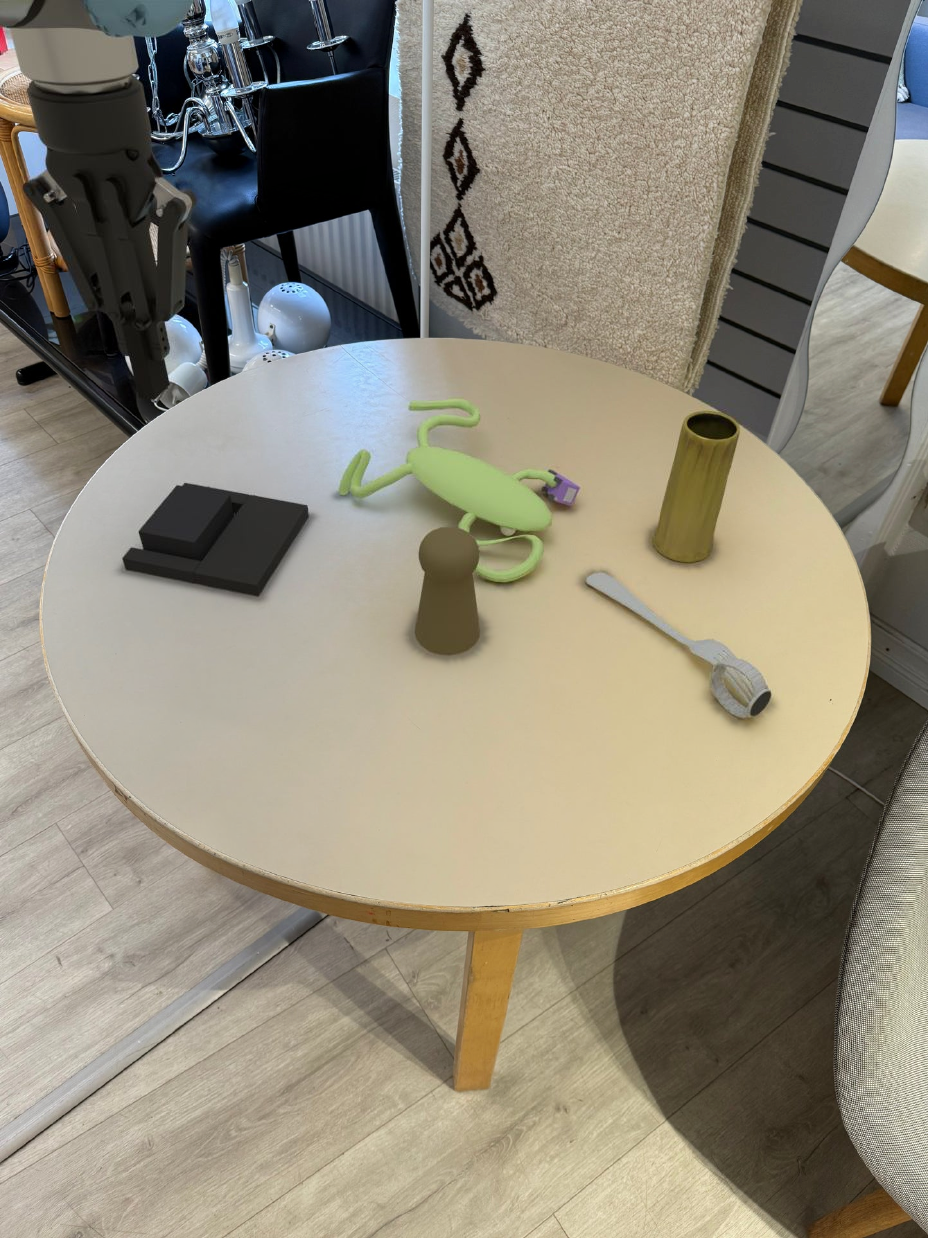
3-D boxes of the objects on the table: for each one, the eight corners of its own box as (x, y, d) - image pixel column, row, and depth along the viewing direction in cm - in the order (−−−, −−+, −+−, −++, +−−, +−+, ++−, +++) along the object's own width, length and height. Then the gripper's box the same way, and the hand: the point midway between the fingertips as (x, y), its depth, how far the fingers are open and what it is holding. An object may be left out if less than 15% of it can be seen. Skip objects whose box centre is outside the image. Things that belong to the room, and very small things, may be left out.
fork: (599, 589, 92) (600, 567, 90) (770, 698, 79) (776, 674, 77) (579, 601, 90) (580, 579, 89) (750, 713, 77) (755, 689, 76)
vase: (713, 532, 95) (747, 413, 85) (709, 568, 91) (743, 448, 81) (656, 521, 96) (682, 403, 86) (648, 556, 92) (675, 436, 82)
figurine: (435, 420, 109) (436, 378, 106) (616, 514, 97) (624, 471, 93) (320, 484, 99) (315, 440, 96) (504, 599, 87) (508, 554, 83)
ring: (742, 732, 76) (758, 693, 72) (699, 695, 79) (711, 655, 75) (765, 717, 77) (781, 677, 74) (721, 681, 80) (735, 641, 77)
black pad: (309, 516, 95) (307, 504, 94) (258, 596, 86) (256, 585, 85) (187, 493, 98) (184, 482, 97) (125, 569, 88) (121, 558, 87)
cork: (452, 599, 87) (454, 507, 79) (493, 635, 83) (500, 542, 76) (401, 627, 84) (398, 534, 76) (442, 664, 81) (443, 571, 73)
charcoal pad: (144, 554, 90) (138, 531, 88) (182, 507, 96) (176, 484, 94) (200, 566, 89) (194, 542, 87) (234, 517, 95) (230, 494, 93)
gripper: (197, 73, 63) (243, 381, 79) (29, 56, 65) (107, 359, 81) (144, 102, 58) (205, 425, 74) (-38, 81, 59) (61, 401, 76)
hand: (154, 390), depth 77 cm, fingers closed
